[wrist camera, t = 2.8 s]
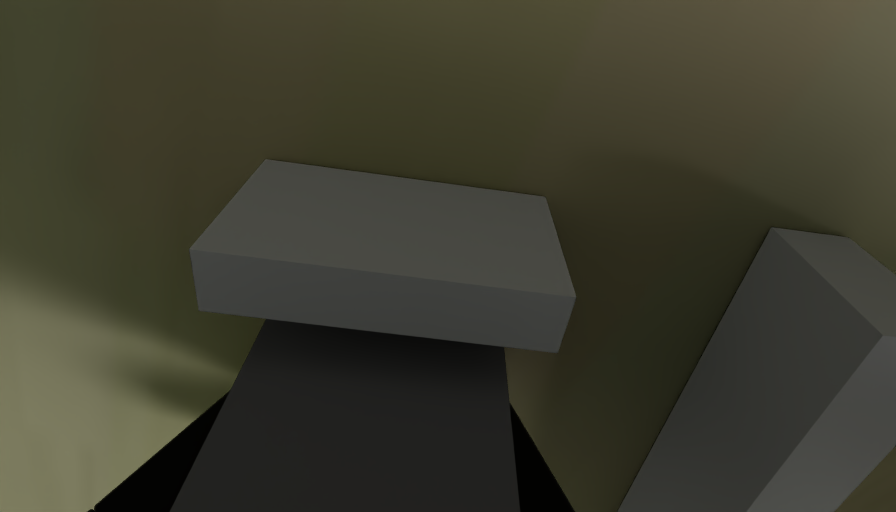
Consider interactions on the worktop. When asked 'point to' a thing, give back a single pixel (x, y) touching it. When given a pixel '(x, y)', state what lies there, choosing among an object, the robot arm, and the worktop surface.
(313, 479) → the dark grey rectangular block
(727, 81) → the worktop surface
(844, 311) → the grey and blue blocks
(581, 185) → the worktop surface
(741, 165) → the worktop surface
